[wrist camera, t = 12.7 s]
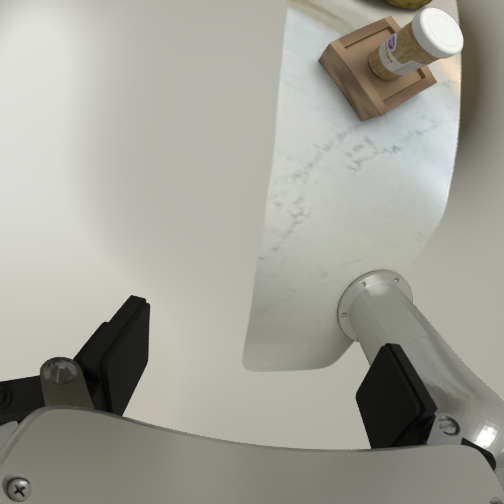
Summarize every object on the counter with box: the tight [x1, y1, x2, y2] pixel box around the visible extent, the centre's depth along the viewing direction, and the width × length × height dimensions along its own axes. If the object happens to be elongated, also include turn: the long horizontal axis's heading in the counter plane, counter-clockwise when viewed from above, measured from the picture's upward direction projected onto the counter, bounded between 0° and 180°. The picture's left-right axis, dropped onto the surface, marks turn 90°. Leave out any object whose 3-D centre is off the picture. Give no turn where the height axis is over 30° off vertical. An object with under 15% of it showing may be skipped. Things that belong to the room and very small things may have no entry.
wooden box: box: [318, 16, 437, 121], centre depth 29 cm, size 10×10×7 cm
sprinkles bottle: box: [368, 8, 463, 81], centre depth 21 cm, size 5×5×14 cm
